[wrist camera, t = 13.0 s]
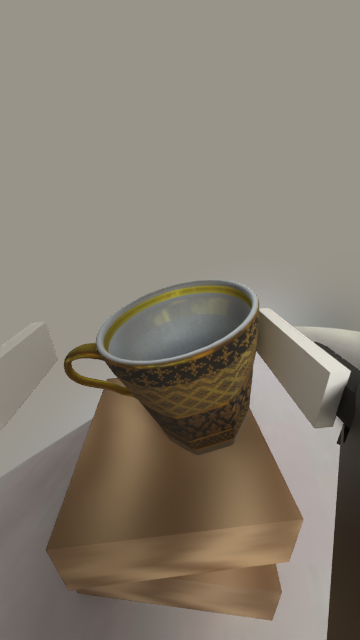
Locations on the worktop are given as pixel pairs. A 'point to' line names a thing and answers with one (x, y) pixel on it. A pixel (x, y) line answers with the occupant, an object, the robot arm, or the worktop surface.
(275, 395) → the worktop surface
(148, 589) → the tower bottom block
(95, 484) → the tower top block
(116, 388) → the ceramic cup
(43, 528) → the worktop surface
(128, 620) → the worktop surface
